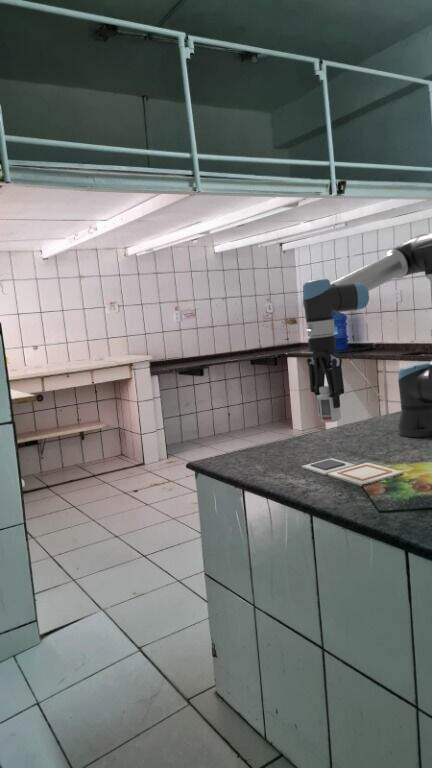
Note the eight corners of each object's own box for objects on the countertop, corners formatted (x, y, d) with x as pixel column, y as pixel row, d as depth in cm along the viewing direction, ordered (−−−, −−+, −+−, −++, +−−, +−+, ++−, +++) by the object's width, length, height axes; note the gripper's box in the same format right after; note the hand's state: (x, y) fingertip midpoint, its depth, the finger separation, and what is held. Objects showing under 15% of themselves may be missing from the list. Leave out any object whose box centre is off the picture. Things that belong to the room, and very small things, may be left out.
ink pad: (331, 460, 170) (331, 456, 170) (355, 466, 160) (355, 463, 160) (301, 468, 166) (301, 464, 166) (324, 475, 156) (323, 471, 156)
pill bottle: (343, 419, 158) (339, 385, 157) (329, 423, 156) (325, 388, 155) (330, 418, 163) (326, 384, 162) (316, 421, 160) (312, 388, 159)
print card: (367, 464, 161) (367, 461, 161) (403, 473, 148) (403, 470, 148) (327, 475, 155) (327, 472, 155) (361, 486, 143) (361, 483, 142)
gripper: (292, 338, 164) (300, 417, 166) (329, 337, 147) (338, 424, 149) (314, 335, 166) (322, 412, 169) (353, 333, 150) (361, 419, 152)
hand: (329, 417), depth 159 cm, fingers closed on pill bottle, 5 cm apart
